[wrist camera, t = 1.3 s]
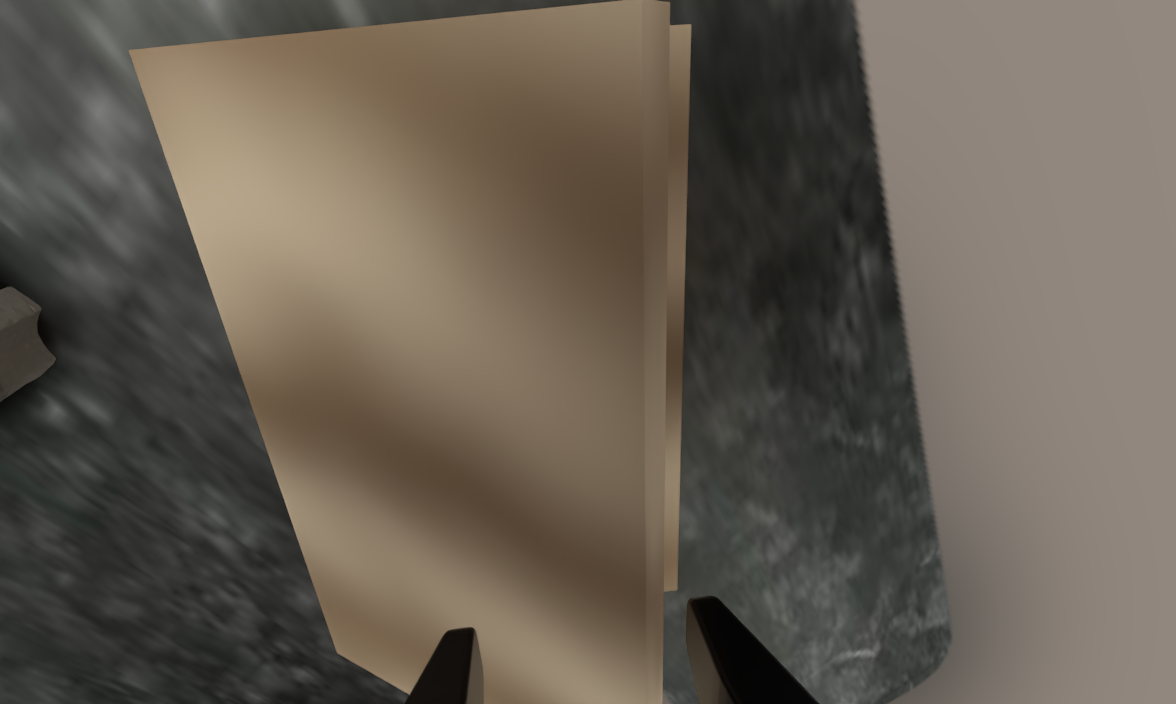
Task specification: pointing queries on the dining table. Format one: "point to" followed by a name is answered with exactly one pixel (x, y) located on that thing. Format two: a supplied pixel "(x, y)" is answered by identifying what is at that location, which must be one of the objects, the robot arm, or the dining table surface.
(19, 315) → the egg carton
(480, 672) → the robot arm
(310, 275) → the box lid
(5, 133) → the dining table surface
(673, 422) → the storage box
